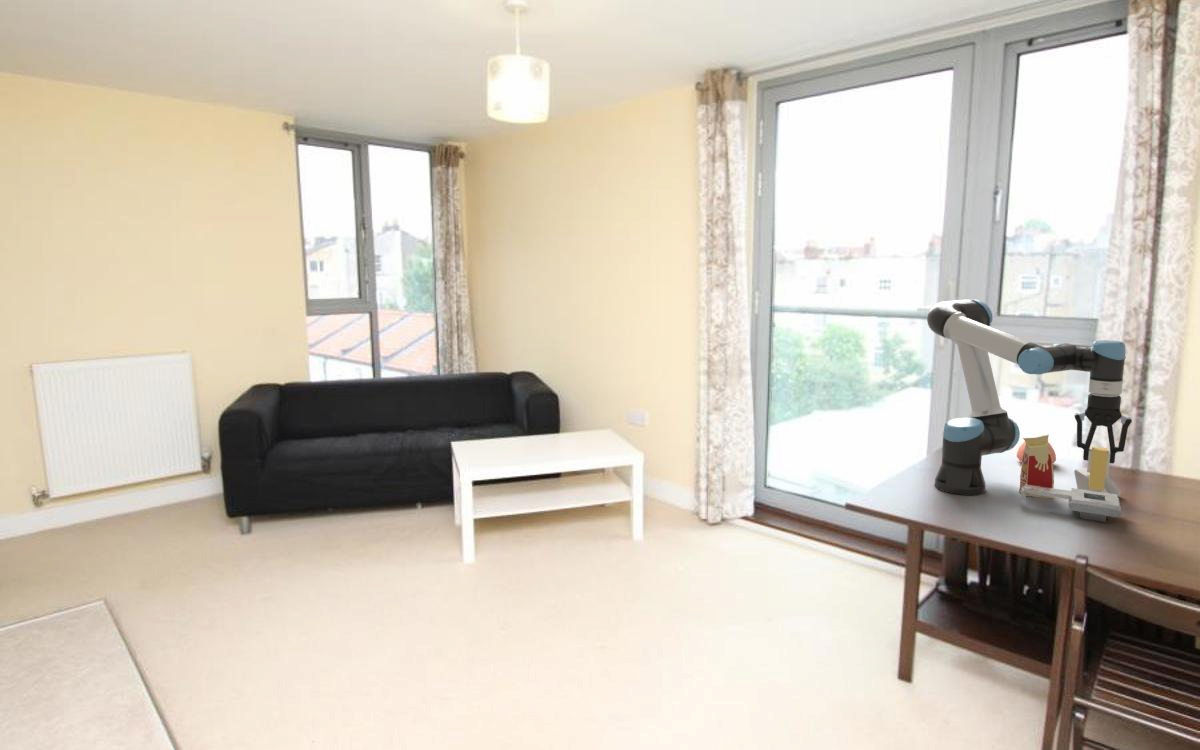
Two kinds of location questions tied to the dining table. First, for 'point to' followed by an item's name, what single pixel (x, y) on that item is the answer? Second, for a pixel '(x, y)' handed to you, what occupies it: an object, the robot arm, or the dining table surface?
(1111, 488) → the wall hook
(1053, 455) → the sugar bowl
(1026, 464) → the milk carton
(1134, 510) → the dining table surface
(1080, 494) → the grey slotted fixture
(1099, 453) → the yellow rectangular block
